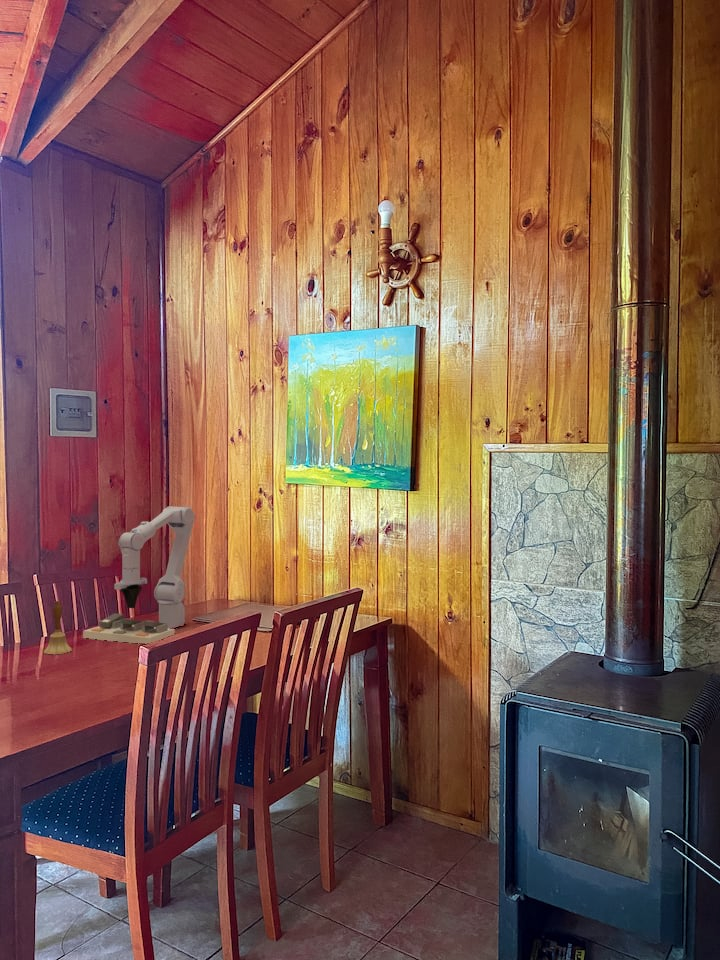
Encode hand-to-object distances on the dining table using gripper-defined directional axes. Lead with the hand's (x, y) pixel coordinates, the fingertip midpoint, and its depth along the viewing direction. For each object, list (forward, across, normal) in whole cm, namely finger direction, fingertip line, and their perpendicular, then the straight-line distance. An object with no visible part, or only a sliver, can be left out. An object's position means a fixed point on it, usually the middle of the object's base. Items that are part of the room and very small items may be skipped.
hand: (131, 607), depth 246 cm
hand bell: (+11, +23, -10) cm, 27 cm away
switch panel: (+10, -1, -2) cm, 11 cm away
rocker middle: (+6, -3, -2) cm, 7 cm away
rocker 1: (+6, -3, -10) cm, 12 cm away
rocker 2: (+6, -3, +8) cm, 10 cm away
